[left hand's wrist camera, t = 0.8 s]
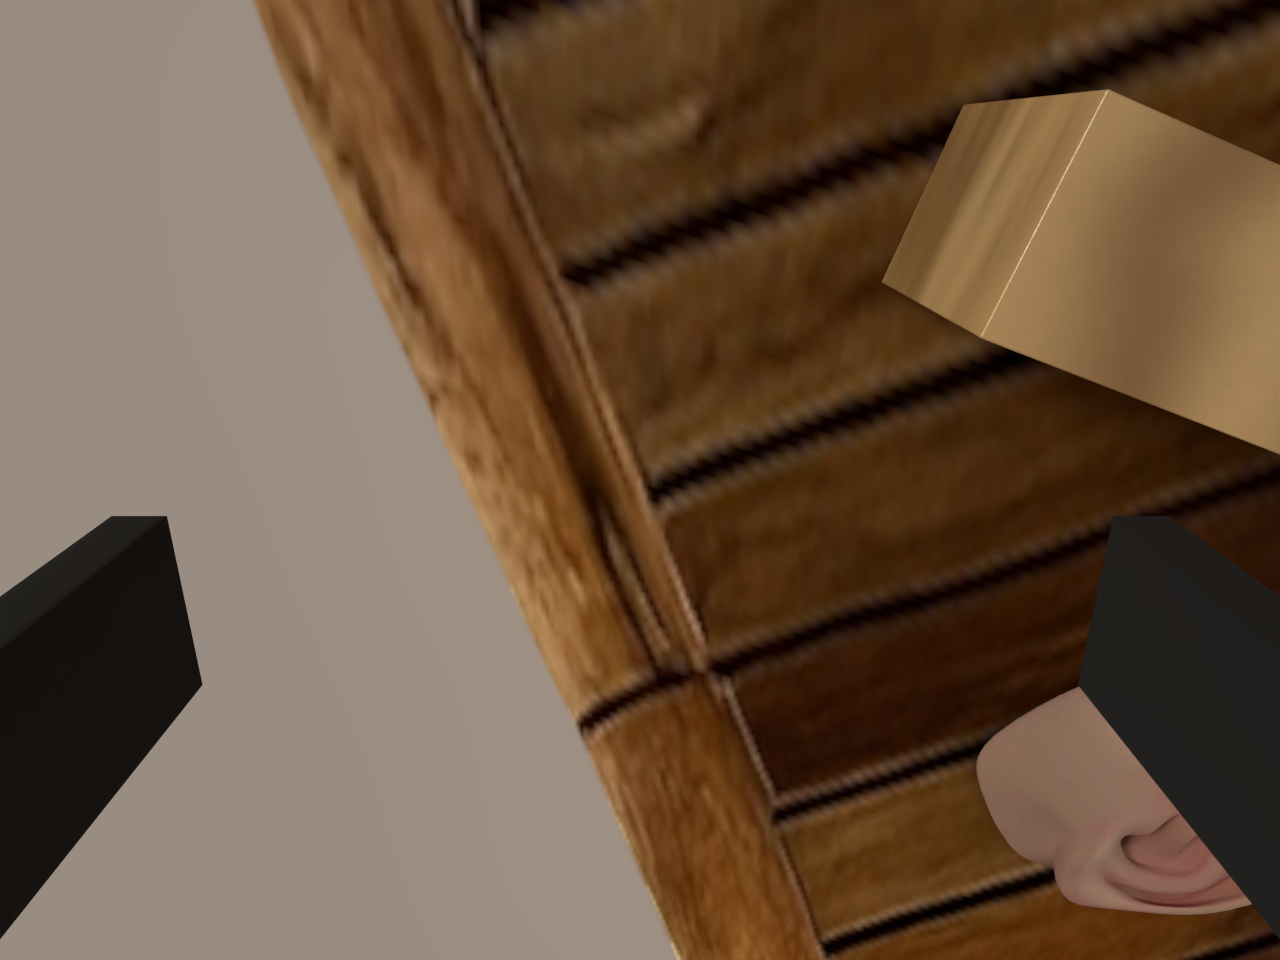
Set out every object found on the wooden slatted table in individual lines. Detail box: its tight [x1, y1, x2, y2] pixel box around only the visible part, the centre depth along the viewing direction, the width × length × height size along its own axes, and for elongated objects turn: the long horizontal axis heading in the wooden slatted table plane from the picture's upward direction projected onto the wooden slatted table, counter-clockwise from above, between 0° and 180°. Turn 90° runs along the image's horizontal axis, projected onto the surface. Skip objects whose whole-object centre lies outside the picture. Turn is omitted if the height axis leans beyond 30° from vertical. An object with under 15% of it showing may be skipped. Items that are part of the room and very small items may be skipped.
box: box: [882, 89, 1280, 455], centre depth 28 cm, size 21×6×10 cm, turn 70°
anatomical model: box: [976, 687, 1252, 915], centre depth 38 cm, size 13×4×12 cm
